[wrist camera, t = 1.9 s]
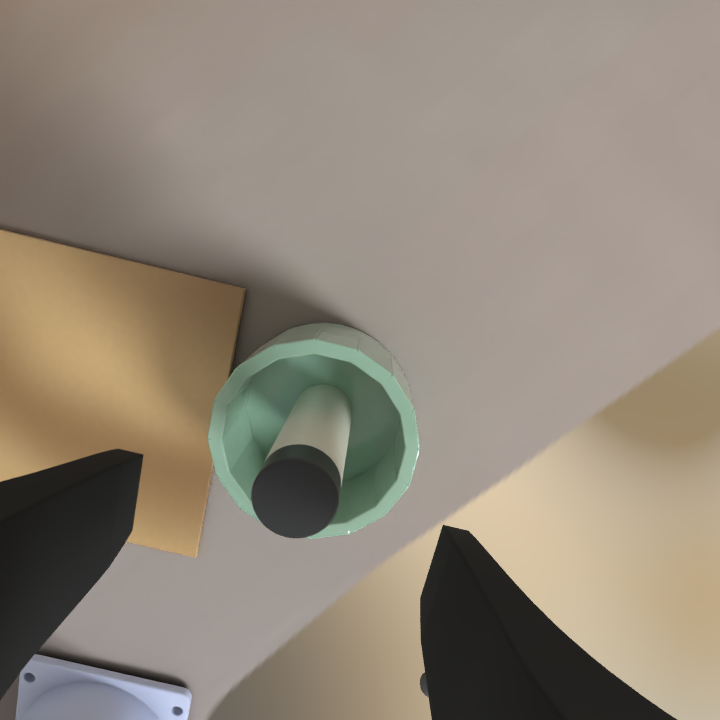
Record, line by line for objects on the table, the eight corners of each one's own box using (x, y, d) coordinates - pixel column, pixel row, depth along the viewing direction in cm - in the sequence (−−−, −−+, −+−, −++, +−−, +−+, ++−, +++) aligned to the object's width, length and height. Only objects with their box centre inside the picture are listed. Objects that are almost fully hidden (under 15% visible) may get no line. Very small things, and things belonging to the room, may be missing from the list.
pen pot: (387, 503, 21) (389, 557, 17) (226, 465, 21) (193, 512, 17) (431, 345, 19) (443, 369, 16) (256, 304, 19) (227, 317, 16)
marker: (345, 444, 20) (327, 548, 13) (289, 431, 20) (243, 528, 13) (358, 391, 19) (347, 470, 13) (301, 377, 19) (259, 449, 13)
